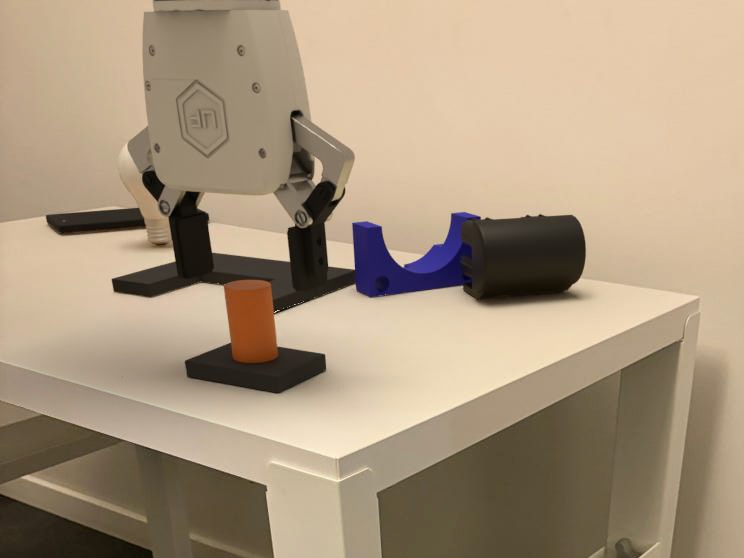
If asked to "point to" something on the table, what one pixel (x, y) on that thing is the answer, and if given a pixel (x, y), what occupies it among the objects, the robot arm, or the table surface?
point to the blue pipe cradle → (428, 272)
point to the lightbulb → (144, 200)
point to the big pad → (233, 278)
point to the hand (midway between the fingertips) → (252, 281)
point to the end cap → (522, 255)
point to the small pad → (257, 372)
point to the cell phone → (98, 220)
